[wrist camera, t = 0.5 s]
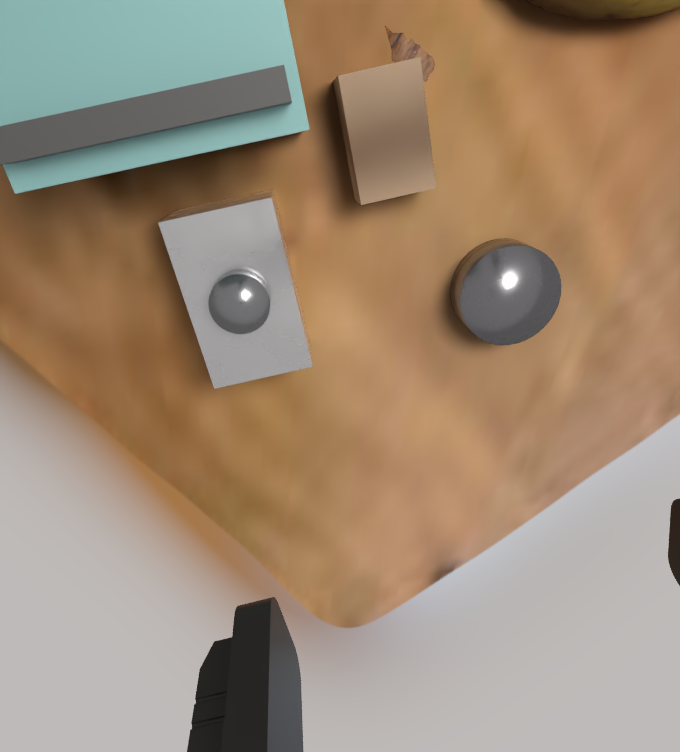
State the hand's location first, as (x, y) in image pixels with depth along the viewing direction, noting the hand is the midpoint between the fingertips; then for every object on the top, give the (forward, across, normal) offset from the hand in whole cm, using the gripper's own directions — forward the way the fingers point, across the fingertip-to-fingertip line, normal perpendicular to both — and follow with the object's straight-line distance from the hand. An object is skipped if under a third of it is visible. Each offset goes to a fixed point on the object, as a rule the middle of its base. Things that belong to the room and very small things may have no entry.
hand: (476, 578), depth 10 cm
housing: (+24, +6, -2) cm, 25 cm away
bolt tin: (+24, -9, +3) cm, 26 cm away
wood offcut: (+24, -4, -8) cm, 25 cm away
